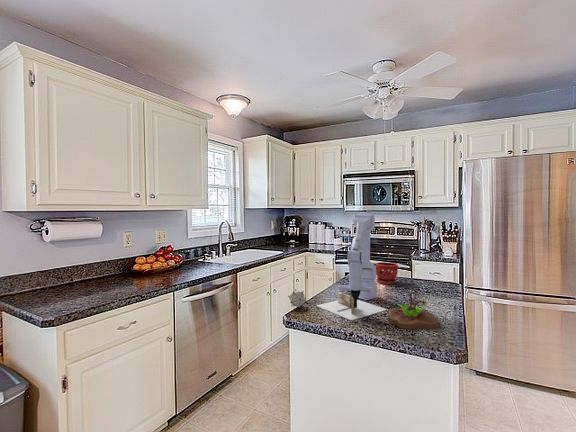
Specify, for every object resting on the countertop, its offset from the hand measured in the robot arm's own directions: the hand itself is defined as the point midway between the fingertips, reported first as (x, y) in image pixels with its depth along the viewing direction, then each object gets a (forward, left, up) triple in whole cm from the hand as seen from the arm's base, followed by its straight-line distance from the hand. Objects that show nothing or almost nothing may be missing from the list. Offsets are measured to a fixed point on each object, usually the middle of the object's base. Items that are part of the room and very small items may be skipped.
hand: (355, 307), depth 138 cm
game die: (+17, -21, -3) cm, 27 cm away
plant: (-12, +20, -3) cm, 24 cm away
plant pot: (-56, -27, -3) cm, 63 cm away
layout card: (-3, -6, -3) cm, 7 cm away
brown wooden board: (0, -1, -2) cm, 2 cm away
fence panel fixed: (-3, -9, -2) cm, 10 cm away
